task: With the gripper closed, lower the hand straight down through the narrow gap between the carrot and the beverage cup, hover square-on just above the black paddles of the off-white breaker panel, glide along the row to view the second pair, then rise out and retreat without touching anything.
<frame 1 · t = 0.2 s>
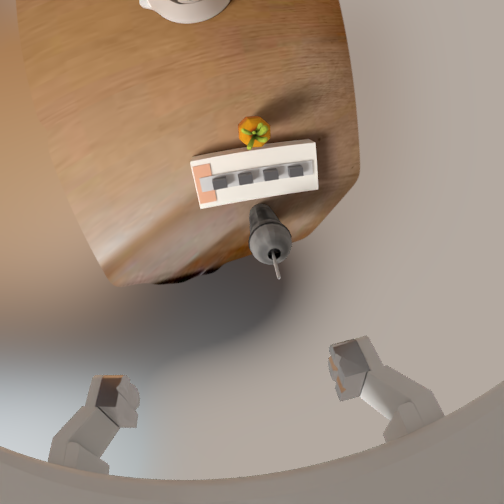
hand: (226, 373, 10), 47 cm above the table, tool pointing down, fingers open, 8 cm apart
beverage cup: (260, 213, 59), on the table
breaker panel: (254, 168, 53), on the table
carrot: (248, 125, 49), on the table
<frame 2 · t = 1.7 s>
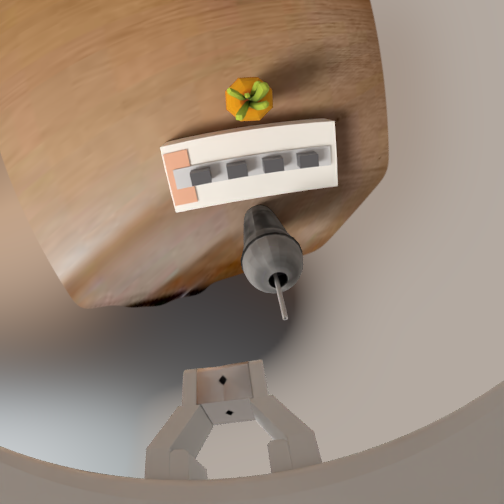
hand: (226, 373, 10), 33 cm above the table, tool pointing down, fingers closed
beverage cup: (259, 218, 44), on the table
breaker panel: (250, 157, 39), on the table
carrot: (241, 98, 34), on the table
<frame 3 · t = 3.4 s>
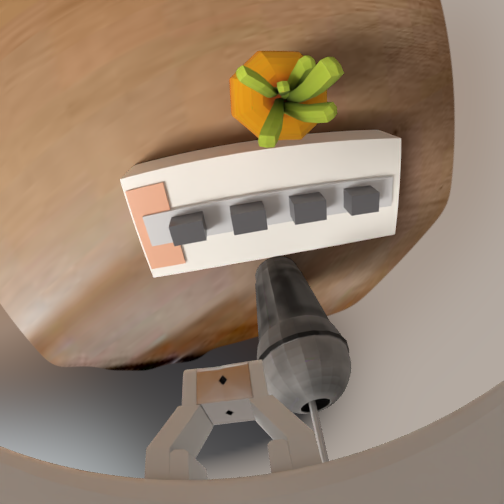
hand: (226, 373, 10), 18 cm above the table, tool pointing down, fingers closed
beverage cup: (276, 273, 31), on the table
breaker panel: (267, 188, 25), on the table
carrot: (253, 93, 21), on the table
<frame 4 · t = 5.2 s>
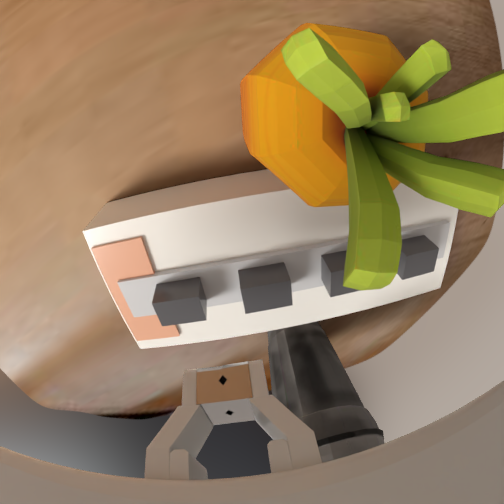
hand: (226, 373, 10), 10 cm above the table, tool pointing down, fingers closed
beverage cup: (293, 330, 24), on the table
breaker panel: (286, 233, 19), on the table
carrot: (270, 102, 15), on the table
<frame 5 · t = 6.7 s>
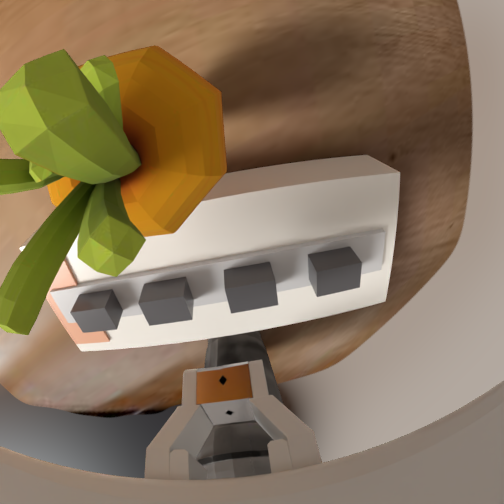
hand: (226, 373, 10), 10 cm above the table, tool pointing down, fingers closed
beverage cup: (234, 338, 24), on the table
breaker panel: (209, 244, 19), on the table
carrot: (180, 114, 15), on the table
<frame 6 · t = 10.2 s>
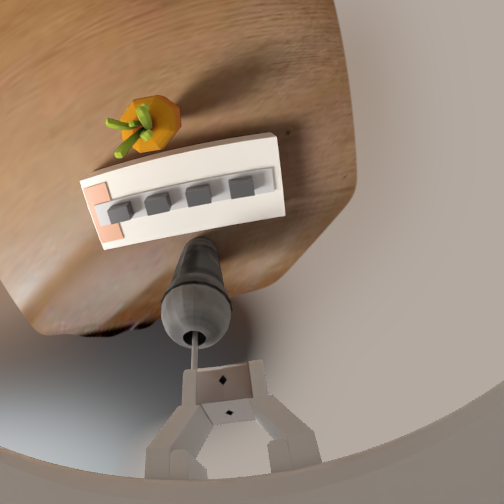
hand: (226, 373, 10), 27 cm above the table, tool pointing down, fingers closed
beverage cup: (200, 251, 39), on the table
breaker panel: (183, 184, 33), on the table
carrot: (169, 116, 29), on the table
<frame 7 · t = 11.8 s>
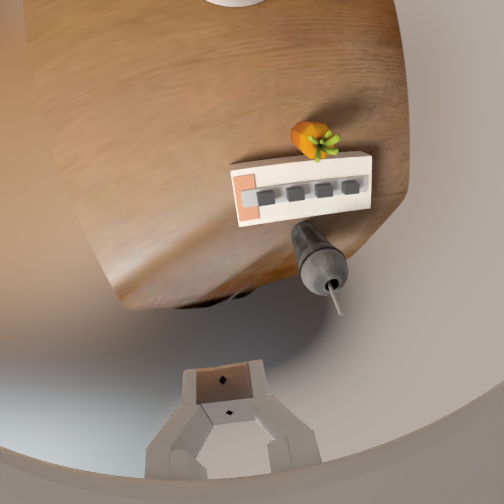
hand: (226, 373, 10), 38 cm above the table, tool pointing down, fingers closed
beverage cup: (303, 232, 51), on the table
breaker panel: (300, 182, 46), on the table
carrot: (296, 131, 42), on the table
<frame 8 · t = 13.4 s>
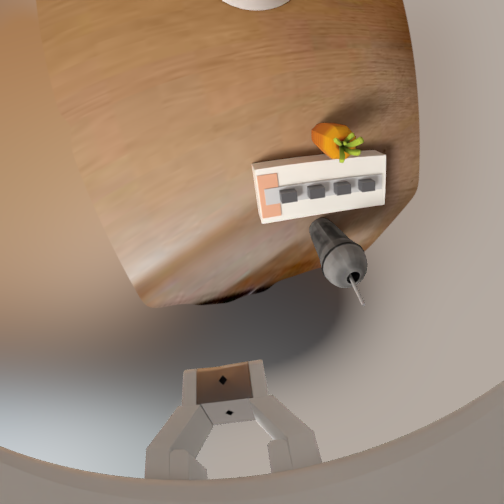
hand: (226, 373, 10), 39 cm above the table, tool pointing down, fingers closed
beverage cup: (320, 228, 53), on the table
breaker panel: (318, 180, 48), on the table
carrot: (314, 131, 44), on the table
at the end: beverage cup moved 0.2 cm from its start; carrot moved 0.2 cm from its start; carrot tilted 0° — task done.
